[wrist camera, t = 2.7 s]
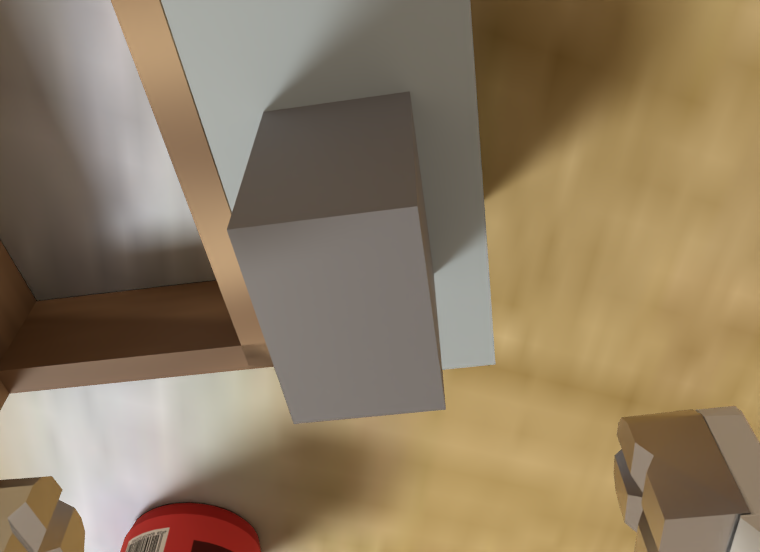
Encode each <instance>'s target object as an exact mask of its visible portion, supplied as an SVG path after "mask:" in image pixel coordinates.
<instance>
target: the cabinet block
mask: <svg viewBox="0 0 760 552" xmlns="http://www.w3.org/2000/svg"><path fill="white" fill-rule="evenodd" d="M161 2H162V5H163V8H164V11H165V14H166V17H167V20H168V23H169V26H170V29H171V32H172V35H173V38H174V41H175V44H176V47H177V50H178V53H179V56H180V59H181V62H182V65H183V68H184V71H185V74H186V77H187V80H188V83H189V86H190V89H191V92H192V95H193V98H194V101H195V104H196V107H197V110H198V113H199V116H200V119H201V122H202V125H203V128H204V131H205V134H206V137H207V140H208V142H209V145H210V148H211V151H212V154H213V157H214V160H215V163H216V166H217V169H218V172H219V175H220V178H221V181H222V184H223V187H224V190H225V193H226V196H227V199H228V202H229V205H230V208H231V211H232V214H231V217H230V221H229V224H228V227H227V232H228V235H229V238H230V241H231V244H232V247H233V249H234V252H235V255H236V258H237V261H238V264H239V267H240V270H241V273H242V276H243V278H244V281H245V284H246V287H247V290H248V293H249V296H250V299H251V302H252V304H253V307H254V310H255V313H256V316H257V319H258V322H259V325H260V328H261V330H262V333H263V336H264V339H265V342H266V345H267V348H268V351H269V354H270V356H271V359H272V362H273V365H274V368H275V371H276V374H277V377H278V380H279V382H280V385H281V388H282V391H283V394H284V397H285V400H286V403H287V406H288V408H289V411H290V414H291V417H292V420H293V423H294V424H298V423H309V422H319V421H330V420H340V419H351V418H361V417H372V416H382V415H393V414H403V413H414V412H424V411H435V410H446V407H445V396H444V384H443V373H442V370H444V369H454V368H464V367H474V366H484V365H494V364H495V352H494V338H493V323H492V309H491V294H490V280H489V265H488V251H487V236H486V222H485V207H484V193H483V178H482V164H481V149H480V135H479V120H478V106H477V91H476V77H475V62H474V48H473V33H472V19H471V4H470V0H161Z"/></svg>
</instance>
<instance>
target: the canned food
mask: <svg viewBox="0 0 760 552" xmlns="http://www.w3.org/2000/svg"><path fill="white" fill-rule="evenodd" d="M120 552H261V549H260V543H259V539H258V535H257V533H256V531H255V530H254V528H253V527H252V526H251V525H250V524H249V523H248V522H247V521H245V520H244V519H242V518H241V517H240V516H238V515H236V514H234V513H232V512H230V511H228V510H226V509H222V508H219V507H216V506H212V505H207V504H200V503H176V504H169V505H164V506H161V507H158V508H155V509H152V510H150V511H148V512H146V513H145V514H143V515H142V516H141V517H140V518H138V519H137V521H136V522H135V524H134V525H133V527H132V528H131V529H130V531H129V532H128V534H127V535H126V537H125V539H124V542H123V545H122V548H121V551H120Z"/></svg>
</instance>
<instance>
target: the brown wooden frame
mask: <svg viewBox="0 0 760 552" xmlns="http://www.w3.org/2000/svg"><path fill="white" fill-rule="evenodd" d="M111 2H112V5H113V7H114V10H115V13H116V15H117V18H118V21H119V23H120V26H121V29H122V31H123V34H124V36H125V39H126V42H127V44H128V47H129V50H130V52H131V55H132V58H133V60H134V63H135V66H136V68H137V71H138V74H139V76H140V79H141V81H142V84H143V87H144V89H145V92H146V95H147V97H148V100H149V103H150V105H151V108H152V111H153V113H154V116H155V119H156V121H157V124H158V127H159V129H160V132H161V134H162V137H163V140H164V142H165V145H166V148H167V150H168V153H169V156H170V158H171V161H172V164H173V166H174V169H175V172H176V174H177V177H178V179H179V182H180V185H181V187H182V190H183V193H184V195H185V198H186V201H187V203H188V206H189V209H190V211H191V214H192V217H193V219H194V222H195V224H196V227H197V230H198V232H199V235H200V238H201V240H202V243H203V246H204V248H205V251H206V254H207V256H208V259H209V262H210V264H211V267H212V269H213V272H214V275H215V277H216V281H207V282H199V283H190V284H181V285H173V286H164V287H155V288H147V289H138V290H129V291H121V292H112V293H103V294H95V295H86V296H77V297H69V298H60V299H51V300H43V301H36V299H35V298H34V296H33V294H32V293H31V291H30V289H29V288H28V286H27V284H26V283H25V281H24V279H23V278H22V276H21V274H20V273H19V271H18V269H17V267H16V266H15V264H14V262H13V261H12V259H11V257H10V256H9V254H8V252H7V251H6V249H5V247H4V246H3V244H2V242H1V241H0V410H1V408H2V406H3V404H4V403H5V401H6V399H7V397H8V395H9V394H10V393H19V392H29V391H39V390H49V389H58V388H68V387H78V386H88V385H98V384H107V383H117V382H127V381H137V380H147V379H156V378H166V377H176V376H186V375H196V374H206V373H215V372H225V371H235V370H245V369H255V368H264V367H274V365H273V362H272V359H271V356H270V354H269V351H268V348H267V345H266V342H265V339H264V336H263V333H262V330H261V328H260V325H259V322H258V319H257V316H256V313H255V310H254V307H253V304H252V302H251V299H250V296H249V293H248V290H247V287H246V284H245V281H244V278H243V276H242V273H241V270H240V267H239V264H238V261H237V258H236V255H235V252H234V249H233V247H232V244H231V241H230V238H229V235H228V232H227V227H228V224H229V221H230V217H231V214H232V211H231V208H230V205H229V202H228V199H227V196H226V193H225V190H224V187H223V184H222V181H221V178H220V175H219V172H218V169H217V166H216V163H215V160H214V157H213V154H212V151H211V148H210V145H209V142H208V140H207V137H206V134H205V131H204V128H203V125H202V122H201V119H200V116H199V113H198V110H197V107H196V104H195V101H194V98H193V95H192V92H191V89H190V86H189V83H188V80H187V77H186V74H185V71H184V68H183V65H182V62H181V59H180V56H179V53H178V50H177V47H176V44H175V41H174V38H173V35H172V32H171V29H170V26H169V23H168V20H167V17H166V14H165V11H164V8H163V5H162V2H161V0H111Z"/></svg>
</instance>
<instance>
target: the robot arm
mask: <svg viewBox="0 0 760 552" xmlns="http://www.w3.org/2000/svg"><path fill="white" fill-rule="evenodd" d="M617 437H618V440H619V443H620V446H621V448H622V449H621V450H620V451H619V452H618V453H617V454H616V455H615V458H614V480H615V489H616V494H617V498H618V502H619V506H620V510H621V513H622V516H623V519H624V522H625V523H626V524H627V525H628V526H630V527H631V528H632V529H633V530H634V531H636V532H637V536H636V543H635V550H634V552H760V443H759V441H758V439H757V437H756V435H755V434H754V432H753V430H752V428H751V427H750V425H749V423H748V421H747V420H746V418H745V416H744V414H743V412H742V411H741V410H739V409H738V408H737V407H736V406H728V407H718V408H709V409H699V410H693V409H691V410H682V411H673V412H665V413H656V414H647V415H638V416H630V417H622V418H621V419H620V421H619V423H618V430H617ZM61 492H62V489H61V487H60V486H59V485H58V484H57V482H56V481H55V480H54V478H53V477H52V476H49V477H35V478H22V479H8V480H0V552H84V540H85V530H84V526H83V523H82V519H81V517H80V515H79V514H78V512H77V511H76V509H75V508H74V507H72V506H70V505H68V504H66V503H64V502H62V501H60V500H59V497H60V494H61Z"/></svg>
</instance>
